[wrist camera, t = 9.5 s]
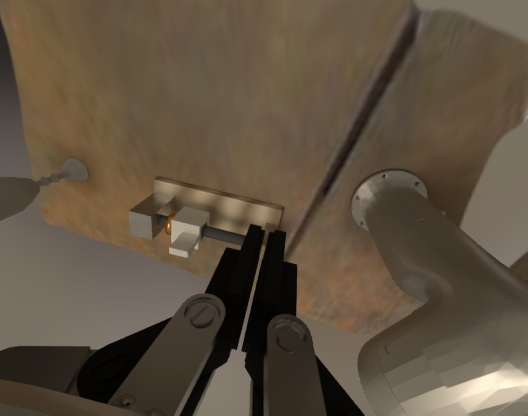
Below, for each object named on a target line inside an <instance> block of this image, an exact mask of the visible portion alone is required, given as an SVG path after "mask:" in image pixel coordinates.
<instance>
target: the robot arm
mask: <svg viewBox="0 0 528 416" xmlns="http://www.w3.org/2000/svg"><path fill="white" fill-rule="evenodd" d="M383 175H385V176H383ZM356 196H358V197H356ZM350 208H351V213H352V216H353V218H354V220H355V221H356V223H357V224H358V225H359V226H360V227H362V228H363V229H364V230H367V231H369V232H370V233H371V235H372V237H373V239H374V241H375V244H376V246H377V248H378V250H379V252H380V254H381V256H382V258H383V260H384V262H385V264H386V266H387V268H388V270H389V272H390V274H391V277H392V278H393V280H394V281H395V283H396V284H397V285H398V286H399V287H400V288H401V289H402V290H403V291H404V292H406V293H407V294H408V295H410V296H412V297H414V298H415V299H417V300H419V301H422V302H424V303H425V304H424V305H423V306H421V307H420V308H418V309H417V310H415V311H413V312H412V313H411V314H410V315H408V316H406V317H405V318H403V319H401V320H400V321H398V322H396V323H395V324H393V325H392V326H390V327H388V328H387V329H385V330H383V331H382V332H380V333H379V334H377V335H375V336H374V337H373V338H371V339H370V340H369V341H367V342H366V343H365V344H364V346H363V347H362V348H361V350H360V353H359V355H358V362H357V365H358V374H359V378H360V382H361V385H362V388H363V390H364V393H365V395H366V397H367V399H368V401H369V403H370V405H371V407H372V409H373V411H374V412H375V414H376V416H528V281H527V280H526V279H524V278H522V277H521V276H519V275H518V274H517V273H515V272H514V271H512V270H511V269H509V268H508V267H507V266H505V265H504V264H502V263H501V262H499V261H498V260H497V259H496V258H494V257H493V256H492V255H491V254H489V253H488V252H487V251H486V250H484V249H483V248H482V247H481V246H479V245H478V244H477V243H476V242H475V241H474V240H473V239H471V238H470V237H469V236H468V235H467V234H466V233H465V232H463V231H462V230H461V229H460V228H459V227H458V226H457V225H455V224H454V223H453V222H452V221H451V220H450V219H449V218H448V217H446V216H445V214H446V212H445V211H444V210H439V209H437V208H436V207H435V206H434V205H433V204H432V203H431V202H429V201H428V193H427V190H426V187H425V185H424V184H423V182H422V181H421V180H420V179H419V178H418V177H416V176H415V175H413V174H411V173H409V172H407V171H403V170H394V169H392V170H384V171H381V172H377V173H375V174H373V175H371V176H369V177H368V178H366V179H365V180H364V181H363V182H362V183H360V184H359V186H358V187H357V188H356V190H355V191H354V193H353V195H352V199H351V205H350ZM261 228H262V226H259V225H255V224H250V226H249V229H248V231H247V234H246V237H245V239H244V242H243V245H242V247H241V250H236V249H232V248H228V247H227V248H226V249H225V251H224V253H223V255H222V257H221V260H220V262H219V264H218V266H217V268H216V270H215V272H214V274H213V277H212V279H211V281H210V283H209V285H208V287H207V289H206V291H205V294H197V295H194V296H192V297H190V298H188V299H187V300H186V301H185V302H184V303H183V304H182V305H181V307H180V308H179V309H178V311H177V312H176V313H175V315H174V316H173V317H171V318H169V319H166V320H164V321H162V322H160V323H157V324H155V325H152V326H150V327H148V328H146V329H143V330H141V331H139V332H137V333H134V334H132V335H129V336H127V337H125V338H123V339H120V340H118V341H115V342H113V343H111V344H109V345H107V346H105V347H103V348H101V349H99V350H91V349H90V346H16V347H10V348H7V349H4V350H1V351H0V416H196V413H197V411H198V409H199V407H200V405H201V402H202V400H203V398H204V396H205V393H206V391H207V389H208V387H209V385H210V382H211V380H212V378H213V376H214V373H215V370H216V369H217V368H218V367H220V366H222V365H223V364H224V363H226V362H227V360H228V358H229V356H230V352H231V349H235V350H237V347H238V343H239V338H240V335H241V331H242V326H243V323H244V318H245V314H246V310H247V306H248V302H249V298H250V294H251V290H252V286H253V282H254V278H255V274H256V269H257V265H258V261H259V257H260V252H261V248H262V244H263V240H264V235H265V231H266V230H262V229H261ZM285 240H286V232H283V231H279V230H274V232H270V231H269V235H268V239H267V243H266V247H265V251H264V255H263V259H262V263H261V267H260V271H259V275H258V280H257V284H256V288H255V293H254V297H253V302H252V306H251V310H250V315H249V319H248V324H247V328H246V332H245V337H244V341H243V346H242V350H241V351H243V352H246V358H245V368H246V370H247V372H248V373H249V375H250V377H251V385H250V386H251V387H250V409H249V416H365V415H364V414H363V413H362V411H361V410H360V409H359V408H358V406H357V405H356V404H355V403H354V402H353V400H352V399H351V398H350V397H349V395H348V394H347V393H346V392H345V390H344V389H343V388H342V387H341V385H340V384H339V383H338V382H337V380H336V379H335V378H334V377H333V376H332V374H331V373H330V372H329V371H328V369H327V368H326V367H325V366H324V364H323V363H322V362H321V361H320V360H319V358H318V357H317V356H316V355H315V351H314V347H313V341H312V336H311V333H310V331H309V329H308V327H307V326H306V324H305V323H304V322H303V321H302V320H301V319H299V318H297V317H296V302H297V264H293V263H289V262H285V261H283V259H284V250H285Z"/></svg>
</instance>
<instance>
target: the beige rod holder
mask: <svg viewBox="0 0 528 416" xmlns="http://www.w3.org/2000/svg"><path fill="white" fill-rule="evenodd" d="M156 191H158V192H162V193H166V194H170V195H174V196H175V211H177V212H179V211H180V210H181V209H182V208H183V207H184V206H185V207H189V208H193V209H197V210H201V211H205V212H209V213H210V217H209V226H210V227H214V228H218V229H222V230H226V231H230V232H234V233H238V234H242V235H246V234H247V231H248V229H249V226H250V224H255V225H259V226H262V228H261V229H262V230H266V231H265V235H264V240H263V244H262V248H261V252H260V257H259V259H263V255H264V251H265V247H266V243H267V239H268V235H269V231H270V232H274V230H277V229H278V225H279V221H280V218H281V214H282V210H283V207H281V206H277V205H273V204H268V203H264V202H260V201H256V200H252V199H248V198H244V197H240V196H235V195H231V194H227V193H223V192H219V191H215V190H211V189H207V188H202V187H198V186H194V185H190V184H186V183H182V182H178V181H174V180H169V179H165V178H161V177H156V178H155V179H154V193H155V192H156Z"/></svg>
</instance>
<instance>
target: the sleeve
mask: <svg viewBox="0 0 528 416" xmlns="http://www.w3.org/2000/svg"><path fill="white" fill-rule="evenodd" d="M209 217H210V213H209V212H205V211H201V210H197V209H193V208H189V207H185V206H184V207H183V208H182V209H181V210H180V211H179V212H178V214H177V215H176V216H175V217H174V218H173V219H172V220H171V243H173V244H172V245H171V246H170V247H169V253H170V254H174V255H178V256H182V257H186V258H188V256H189V255H190V253H191V252H192V250H193V249H199V247H200V246H201V244H202V243H203V241H204V239H205V238H206V237H205V236H201V229H202V227H203V226H204V225H206V226H209Z"/></svg>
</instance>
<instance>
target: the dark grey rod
mask: <svg viewBox="0 0 528 416" xmlns="http://www.w3.org/2000/svg"><path fill="white" fill-rule="evenodd" d="M167 218H168V216H166V215H161V216H160V217H159V220H158V225H161V226H165V225H166V221H167ZM201 236H205V237H209V238H213V239H217V240H221V241H225V242H229V243H233V244H237V245H241V246H242V245H243V242H244V239H245V237H246V235H242V234H238V233H234V232H230V231H226V230H222V229H218V228H214V227H210V226H206V225H204V226H203V227H202V229H201Z"/></svg>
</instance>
